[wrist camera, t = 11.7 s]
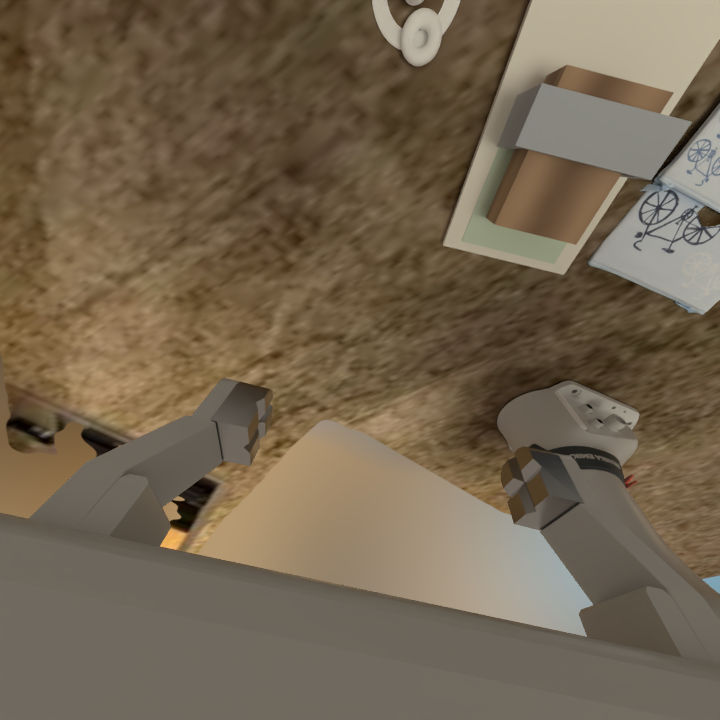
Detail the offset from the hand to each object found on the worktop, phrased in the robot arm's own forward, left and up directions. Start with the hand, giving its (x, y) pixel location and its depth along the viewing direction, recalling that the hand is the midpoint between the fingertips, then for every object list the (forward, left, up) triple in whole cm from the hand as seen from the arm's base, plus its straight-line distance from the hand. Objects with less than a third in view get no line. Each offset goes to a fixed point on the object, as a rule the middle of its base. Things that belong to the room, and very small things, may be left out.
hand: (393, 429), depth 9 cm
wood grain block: (-14, -9, -32) cm, 36 cm away
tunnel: (-14, -11, -33) cm, 38 cm away
